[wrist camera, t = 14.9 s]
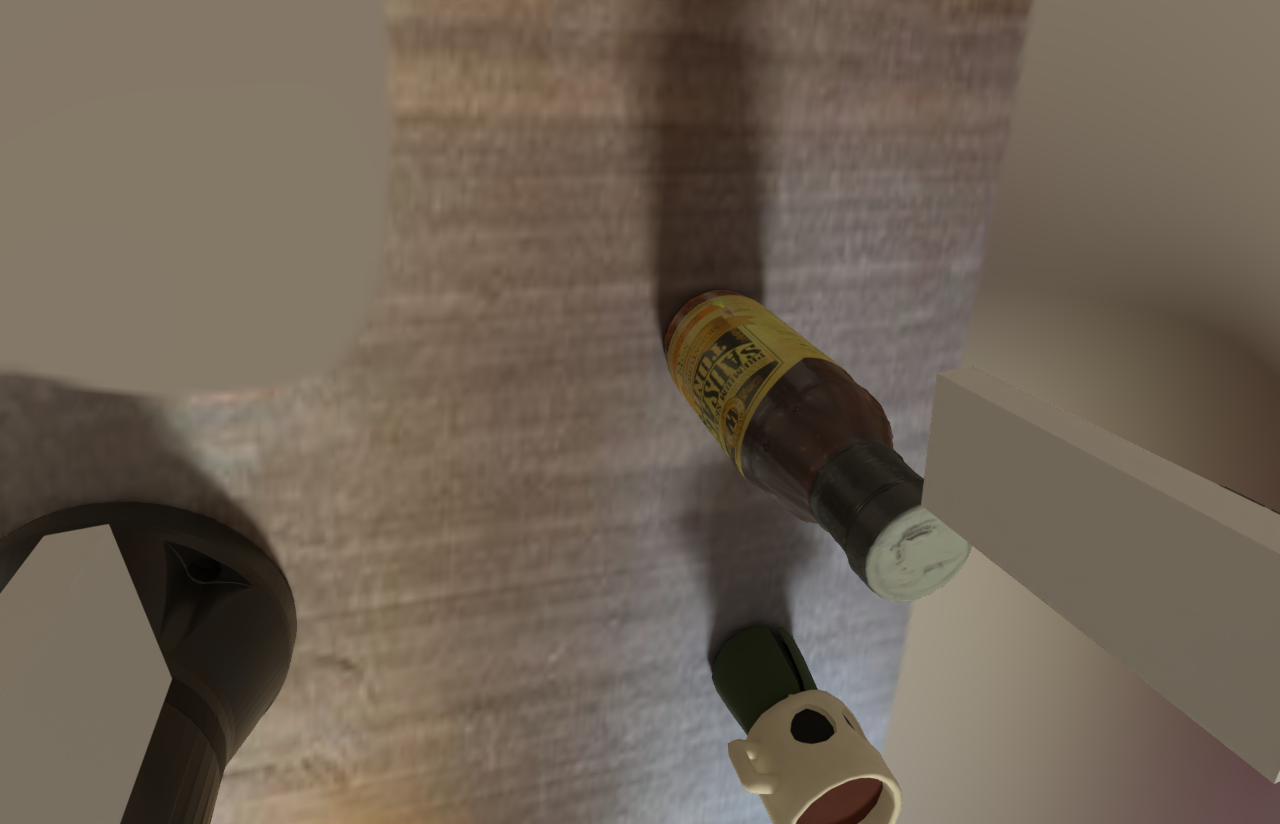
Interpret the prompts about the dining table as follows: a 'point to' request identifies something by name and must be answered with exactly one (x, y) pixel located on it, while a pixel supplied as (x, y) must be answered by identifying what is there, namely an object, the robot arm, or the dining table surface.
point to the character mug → (799, 738)
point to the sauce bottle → (810, 441)
